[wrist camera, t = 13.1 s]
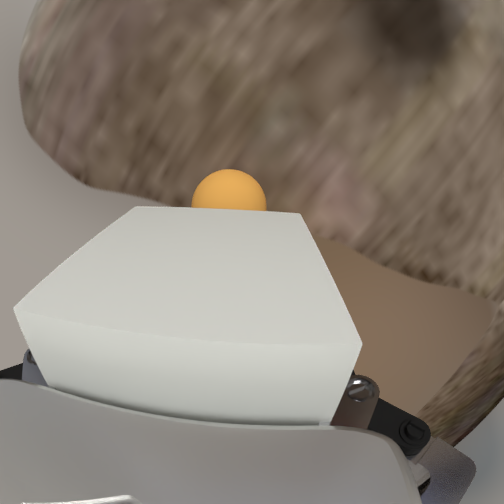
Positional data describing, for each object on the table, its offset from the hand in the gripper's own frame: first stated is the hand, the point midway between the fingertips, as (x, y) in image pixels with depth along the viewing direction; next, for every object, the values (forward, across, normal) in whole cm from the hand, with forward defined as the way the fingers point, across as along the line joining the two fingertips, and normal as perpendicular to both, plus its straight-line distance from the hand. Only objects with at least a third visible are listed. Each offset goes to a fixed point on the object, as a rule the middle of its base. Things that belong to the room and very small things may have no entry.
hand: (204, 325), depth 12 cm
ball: (+10, 0, -2) cm, 10 cm away
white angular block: (+3, 0, 0) cm, 3 cm away
